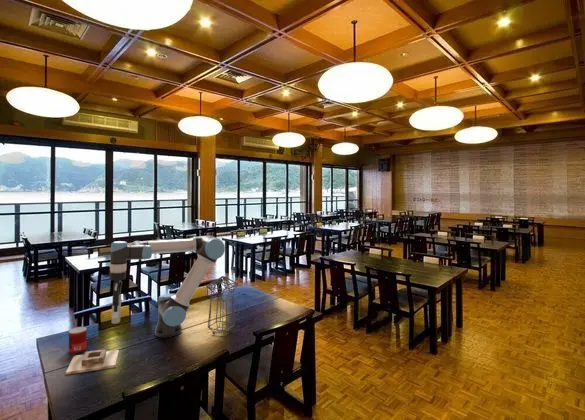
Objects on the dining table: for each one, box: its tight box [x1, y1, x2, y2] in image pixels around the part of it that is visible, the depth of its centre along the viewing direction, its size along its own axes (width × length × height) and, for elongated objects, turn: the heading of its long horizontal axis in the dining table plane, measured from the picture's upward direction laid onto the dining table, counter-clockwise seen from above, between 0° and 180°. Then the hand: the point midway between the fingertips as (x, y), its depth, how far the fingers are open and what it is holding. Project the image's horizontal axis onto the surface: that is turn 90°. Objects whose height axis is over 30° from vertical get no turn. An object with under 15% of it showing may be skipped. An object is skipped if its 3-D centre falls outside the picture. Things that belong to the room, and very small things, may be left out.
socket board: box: [65, 348, 120, 375], centre depth 162 cm, size 20×16×4 cm
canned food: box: [68, 326, 88, 354], centre depth 173 cm, size 8×8×11 cm
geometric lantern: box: [205, 275, 239, 336], centre depth 199 cm, size 16×16×35 cm
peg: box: [111, 294, 122, 325], centre depth 172 cm, size 4×4×14 cm
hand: (116, 315), depth 172 cm, fingers closed on peg, 4 cm apart
